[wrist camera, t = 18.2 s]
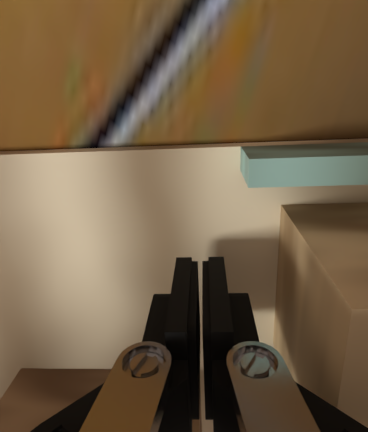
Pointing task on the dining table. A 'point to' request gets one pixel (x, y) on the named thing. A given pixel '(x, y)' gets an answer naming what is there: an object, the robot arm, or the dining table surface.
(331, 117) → the dining table surface
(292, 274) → the oak block
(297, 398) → the robot arm
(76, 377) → the walnut ring block
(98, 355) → the board
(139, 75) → the dining table surface
